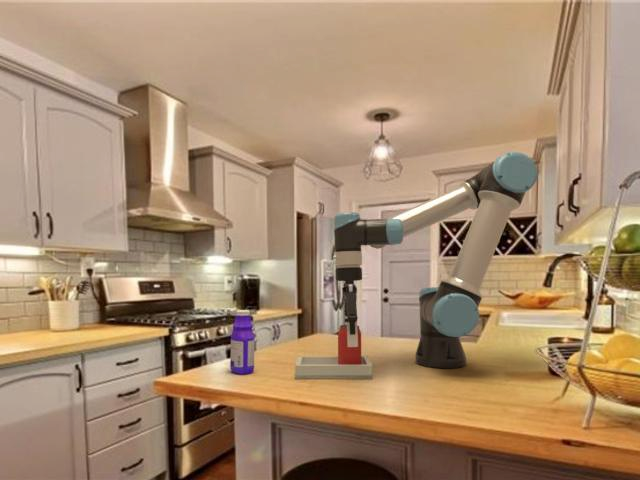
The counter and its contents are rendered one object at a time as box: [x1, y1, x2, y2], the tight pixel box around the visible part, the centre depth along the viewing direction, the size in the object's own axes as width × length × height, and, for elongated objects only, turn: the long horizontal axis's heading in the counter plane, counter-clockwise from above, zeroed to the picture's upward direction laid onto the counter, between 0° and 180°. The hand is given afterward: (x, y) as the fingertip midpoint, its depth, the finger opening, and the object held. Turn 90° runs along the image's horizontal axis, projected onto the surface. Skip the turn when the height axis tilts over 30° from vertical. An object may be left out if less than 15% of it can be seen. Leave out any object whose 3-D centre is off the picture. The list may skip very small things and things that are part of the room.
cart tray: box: [294, 355, 373, 380], centre depth 115 cm, size 20×12×4 cm, turn 89°
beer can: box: [337, 324, 362, 365], centre depth 115 cm, size 7×7×12 cm
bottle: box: [229, 309, 256, 375], centre depth 117 cm, size 7×6×17 cm
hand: (351, 342), depth 115 cm, fingers open, 13 cm apart
